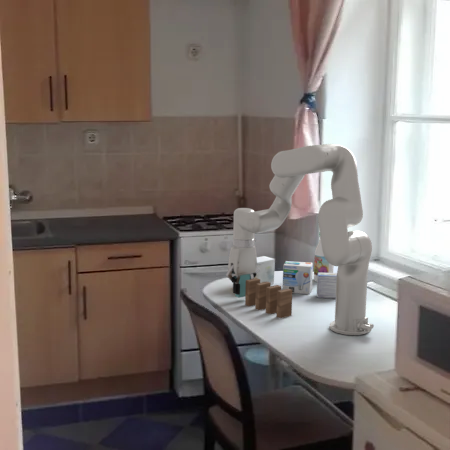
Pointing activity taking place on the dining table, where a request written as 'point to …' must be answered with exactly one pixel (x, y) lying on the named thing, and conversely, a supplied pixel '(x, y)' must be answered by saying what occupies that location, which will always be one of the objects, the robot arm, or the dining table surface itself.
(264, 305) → the tile
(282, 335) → the dining table surface
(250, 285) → the tile
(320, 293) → the medicine box
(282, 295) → the tile
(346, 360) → the dining table surface
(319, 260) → the milk bottle
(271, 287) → the tile
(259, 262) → the skincare box
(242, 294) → the teal tile
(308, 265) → the light bulb box
